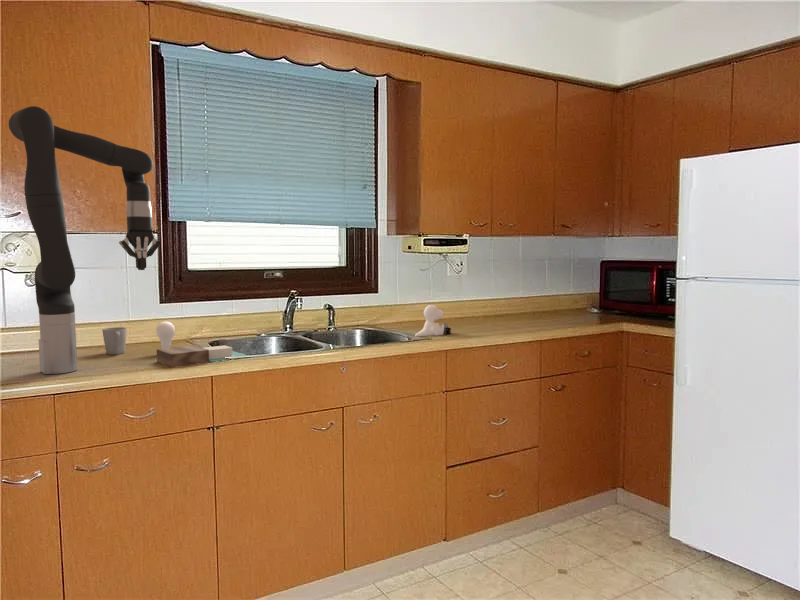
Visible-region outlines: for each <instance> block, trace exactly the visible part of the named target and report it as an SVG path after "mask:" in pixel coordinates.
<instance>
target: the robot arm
mask: <svg viewBox="0 0 800 600" xmlns="http://www.w3.org/2000/svg"><path fill="white" fill-rule="evenodd" d="M8 128H9V131H10V133H11V134H12V135H13V136H14V138H16V139H18V140H19V141H21V142H23V144H24V148H25V153H26V154H25V155H26V168H25V169H26V170H25V175H24V176H25V177H24V198H25V205H26V211H27V214H28V218H29V221H30V223H31V226H32V228H33V231H34V233H35V235H36V238H37V241H38V245H39V252H40V261H39V263H38V264H37V265H36V267H35V270H34V285H35V286H34V287H35V289H34V290H35V298H36V300H35V301H36V304H37V307H38V317H39V320H38V321H39V322H38V323H39V337H40V338H39V339H38V353H39V355H38V356H39V371H40V372H41V373H42V374H43V375H54V374H55V375H57V374H67V373H72V372H75V371H77V370H78V356H77V355H78V353H77V335H76V334H77V333H76V330H77V329H76V315H75V314H76V312H75V303H74V301H73V298H72V294H71V286H72V285H73V284H74V282H75V281H76V280H75V278H76V268H75V265H74V262H73V259H72V254H71V251H70V247H69V243H68V237H67V224H66V216H65V208H64V200H63V195H62V189H61V184H60V183H61V182H60V176H59V172H58V171H59V170H58V167H57V166H58V165H57V159H56V158H57V157H56V149H57V150H61V151H65V152H67V153H68V152H69V153H71V154H73V155H78V156H80V157H84V158H86V159H88V160H92V161H95V162H98V163H100V164H104V165H106V166H108V167H109V166H110V167H119V168H121V172H122V177H123V181H124V184H125V187H126V207H125V208H126V210H125V211H126V212H125V215H126V231H127V232H126V234H125V238H124V239H122V240H120V241H119V242H118V243H119V245H120V246H121V247H122V249H124V251H125V252H126V254H127V255H129V257H133V258H134V259H135V268H136V269H137V270H138V271H145V270H146V268H147V258H148V257H152V256H153V255H154V254H155V252H156V250H158V248H159V246H160V245H161V244H162V243H161V241H160V240H158V239H156V238H155V235H154V233H153V212H152V211H153V209H152V203H151V201H152V200H151V188H150V185H149V184H148V183H146V182H145V176H144V175H146V174H148V173H150V172H151V171H152V170H153V167H154V160H153V158H152V157H151V156H150V154H148V153H146V152H145V151H142V150H140V149H136V148H133V147H128V146H125V145H124V146H123V145H119V144H117V143H114V142H112V141H109V140H106V139H103V138H101V137H99V136H96V135H90V134H87V133H80V132H78V131H73V130H68V129H66V128H63V127H62V128H61V127H59V126H57V125H55V124H54V121H53V119H52V117H51V115H50V114H49V113H48V112H47V111H46V110H45V109H43V108H42V107H39V106H36V105H33V106H28V107H27V106H26V107H25V108H22V109H19V110H17V111H16V112H14V113H13V114H11V116H10V117H9V120H8ZM129 244H130V245H131V246H132V247H133V248H131V246H129ZM150 245H151V246H150ZM149 246H150V248H149ZM148 248H149V249H148Z"/></svg>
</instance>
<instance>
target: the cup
mask: <svg viewBox="0 0 800 600" xmlns="http://www.w3.org/2000/svg"><path fill="white" fill-rule="evenodd" d="M102 337H103V342H104V347H105V348H104V349H105V352H106V355H112V356H113V355H122V354H124V353H125V352H126V351H125V350H126V343H127V327H123V326H121V327H116V326H115V327H113V326H112V327H106V328H102Z"/></svg>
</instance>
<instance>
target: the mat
mask: <svg viewBox="0 0 800 600" xmlns="http://www.w3.org/2000/svg"><path fill="white" fill-rule="evenodd" d="M232 355H234V356H250V355H249V354H244V353H241V352H237V351H234V350H232ZM222 360H227V359H226V358H218V359H209V362H208V363H211V362H212V363H217V362H216V361H220V362H223V361H222Z"/></svg>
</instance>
